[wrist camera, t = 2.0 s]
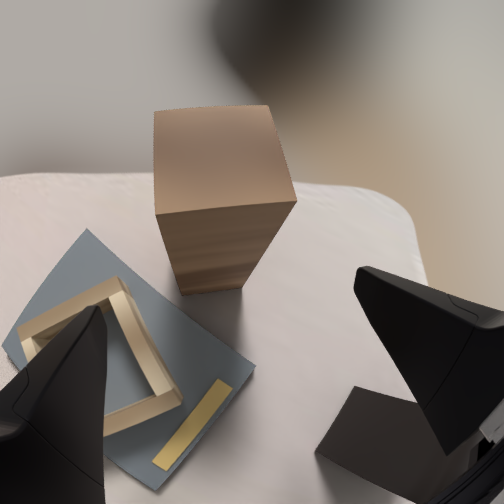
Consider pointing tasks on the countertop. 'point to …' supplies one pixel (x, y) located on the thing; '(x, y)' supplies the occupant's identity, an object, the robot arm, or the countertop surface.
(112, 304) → the maple socket
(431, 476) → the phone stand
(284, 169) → the walnut block
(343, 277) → the countertop surface
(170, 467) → the slate board
